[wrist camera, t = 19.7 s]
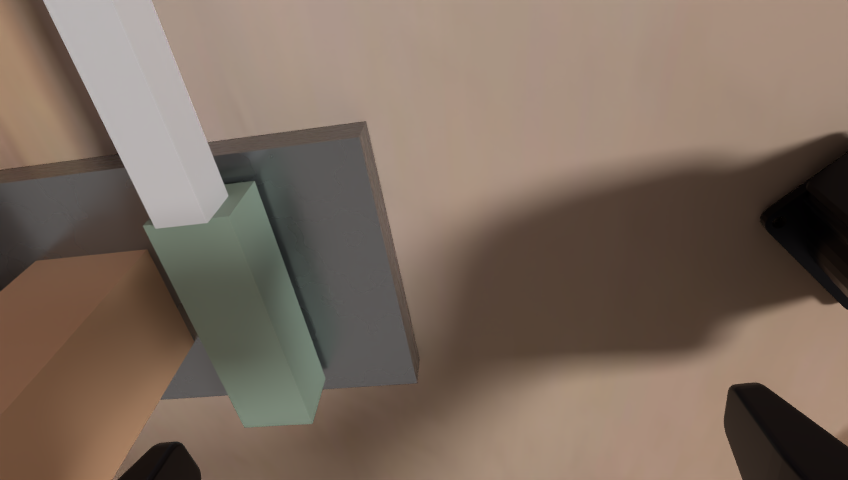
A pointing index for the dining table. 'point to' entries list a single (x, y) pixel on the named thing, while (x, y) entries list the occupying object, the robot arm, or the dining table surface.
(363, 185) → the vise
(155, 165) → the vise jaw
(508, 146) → the dining table surface
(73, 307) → the tan rectangular block
